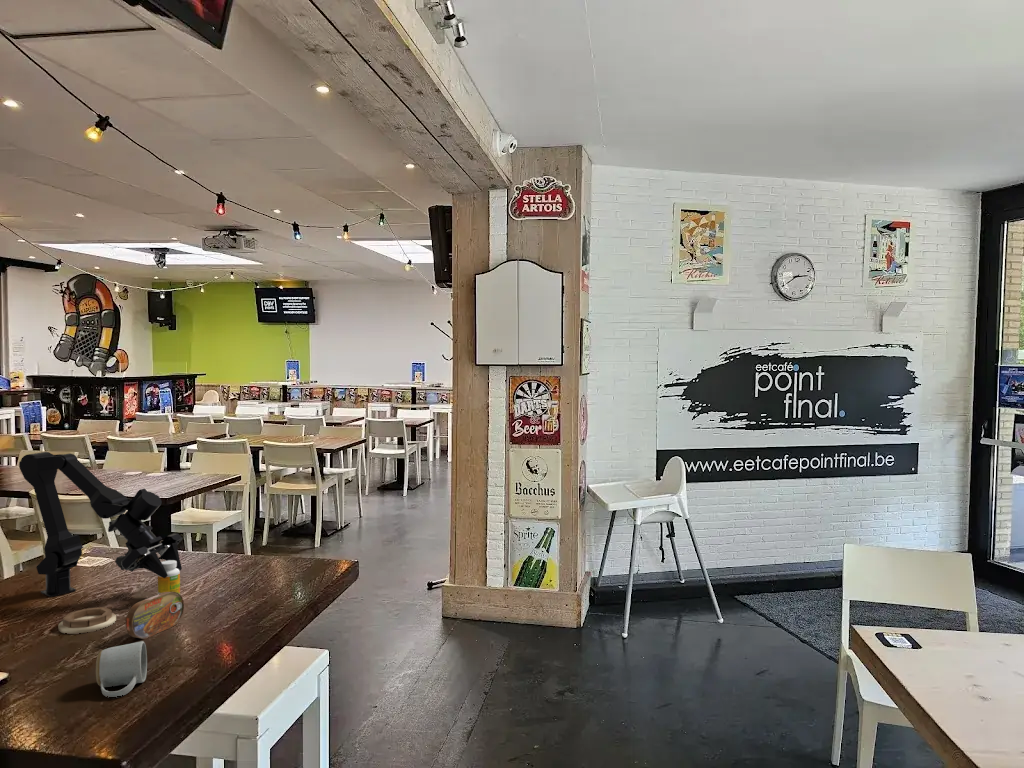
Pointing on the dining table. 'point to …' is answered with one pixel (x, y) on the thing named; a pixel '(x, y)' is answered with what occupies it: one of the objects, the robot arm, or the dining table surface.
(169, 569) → the supplement bottle
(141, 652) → the ceramic mug
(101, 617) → the collar stand
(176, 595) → the tin
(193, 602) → the dining table surface
